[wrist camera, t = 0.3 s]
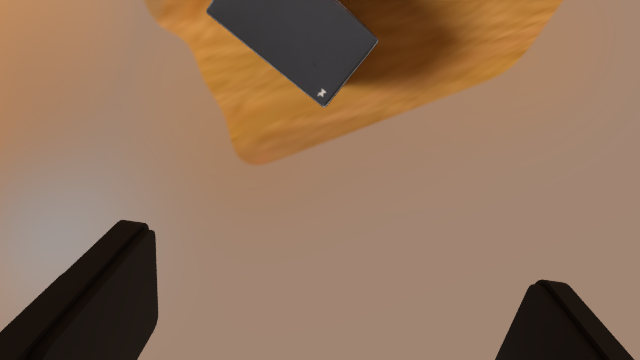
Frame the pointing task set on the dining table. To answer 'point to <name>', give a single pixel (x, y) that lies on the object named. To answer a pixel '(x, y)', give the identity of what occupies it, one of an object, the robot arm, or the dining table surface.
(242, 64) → the dining table surface
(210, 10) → the small box
